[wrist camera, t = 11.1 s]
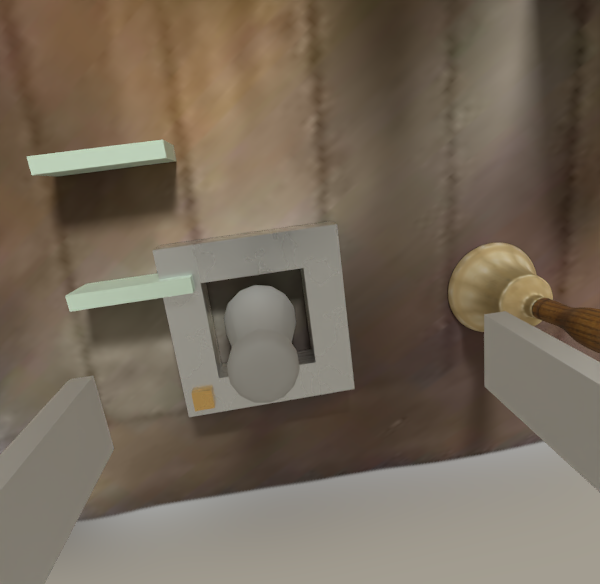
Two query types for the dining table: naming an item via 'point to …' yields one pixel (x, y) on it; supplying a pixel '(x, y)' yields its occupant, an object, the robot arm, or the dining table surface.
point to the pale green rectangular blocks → (101, 161)
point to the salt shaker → (261, 344)
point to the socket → (247, 262)
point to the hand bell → (514, 294)
